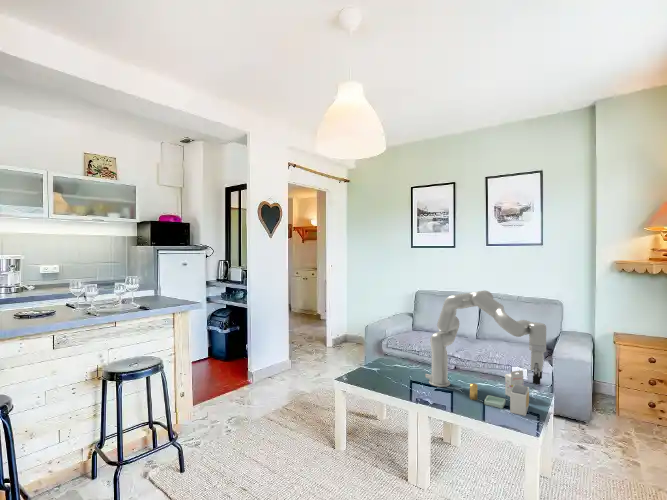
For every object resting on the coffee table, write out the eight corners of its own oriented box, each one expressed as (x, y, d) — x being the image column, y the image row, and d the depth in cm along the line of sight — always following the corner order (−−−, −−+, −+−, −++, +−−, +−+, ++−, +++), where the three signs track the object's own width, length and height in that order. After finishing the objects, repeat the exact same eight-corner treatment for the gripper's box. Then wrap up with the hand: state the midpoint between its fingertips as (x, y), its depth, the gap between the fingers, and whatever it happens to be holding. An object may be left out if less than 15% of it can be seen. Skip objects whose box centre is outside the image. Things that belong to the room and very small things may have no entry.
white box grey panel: (510, 412, 186) (510, 391, 186) (514, 402, 198) (514, 383, 198) (526, 416, 182) (526, 395, 182) (529, 406, 193) (529, 386, 193)
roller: (468, 399, 202) (469, 384, 202) (470, 396, 206) (470, 382, 205) (476, 400, 200) (476, 386, 200) (478, 398, 203) (478, 384, 203)
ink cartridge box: (517, 392, 211) (517, 367, 211) (523, 396, 206) (523, 370, 206) (504, 394, 209) (504, 368, 209) (511, 397, 204) (511, 371, 204)
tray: (484, 404, 195) (484, 400, 195) (487, 398, 203) (487, 395, 203) (502, 408, 190) (502, 404, 190) (505, 402, 198) (505, 398, 198)
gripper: (531, 342, 194) (530, 374, 195) (527, 350, 180) (527, 384, 180) (547, 344, 190) (547, 377, 190) (544, 352, 176) (544, 388, 176)
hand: (537, 381), depth 185 cm, fingers open, 9 cm apart
